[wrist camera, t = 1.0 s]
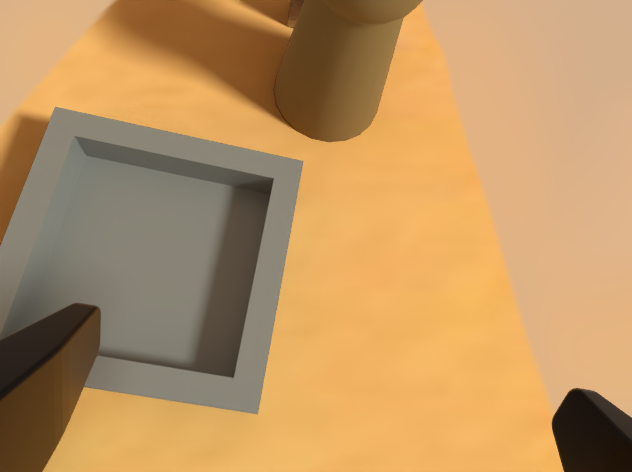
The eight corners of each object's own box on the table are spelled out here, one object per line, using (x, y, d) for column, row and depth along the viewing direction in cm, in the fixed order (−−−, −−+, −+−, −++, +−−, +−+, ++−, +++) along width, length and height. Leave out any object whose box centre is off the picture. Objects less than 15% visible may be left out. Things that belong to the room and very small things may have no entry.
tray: (254, 411, 21) (257, 414, 19) (-15, 369, 20) (-48, 366, 18) (296, 182, 25) (303, 161, 23) (72, 134, 24) (55, 106, 21)
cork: (251, 98, 26) (265, -93, 16) (313, 32, 28) (361, -175, 18) (341, 162, 26) (415, 10, 16) (397, 90, 28) (494, -86, 18)
